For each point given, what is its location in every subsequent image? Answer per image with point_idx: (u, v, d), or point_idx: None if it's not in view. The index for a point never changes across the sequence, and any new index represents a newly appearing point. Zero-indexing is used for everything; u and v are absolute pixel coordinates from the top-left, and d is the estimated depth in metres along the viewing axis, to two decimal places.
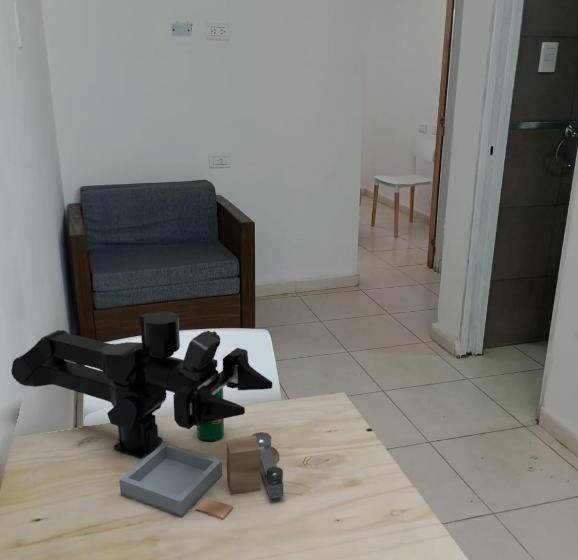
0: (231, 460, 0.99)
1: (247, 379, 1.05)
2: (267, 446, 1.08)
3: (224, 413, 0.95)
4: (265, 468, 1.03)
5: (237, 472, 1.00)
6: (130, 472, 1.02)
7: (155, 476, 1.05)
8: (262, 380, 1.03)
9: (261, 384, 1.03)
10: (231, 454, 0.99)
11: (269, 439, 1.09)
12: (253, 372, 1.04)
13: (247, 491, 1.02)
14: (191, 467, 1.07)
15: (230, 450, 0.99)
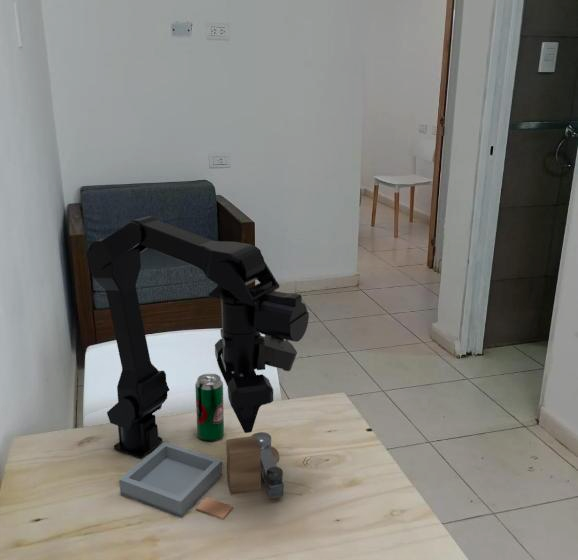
0: (231, 460, 0.99)
1: (235, 376, 1.02)
2: (267, 446, 1.08)
3: (244, 419, 0.93)
4: (265, 468, 1.03)
5: (237, 472, 1.00)
6: (130, 472, 1.02)
7: (155, 476, 1.05)
8: None
9: None
10: (231, 454, 0.99)
11: (269, 439, 1.09)
12: None
13: (247, 491, 1.02)
14: (191, 467, 1.07)
15: (230, 450, 0.99)
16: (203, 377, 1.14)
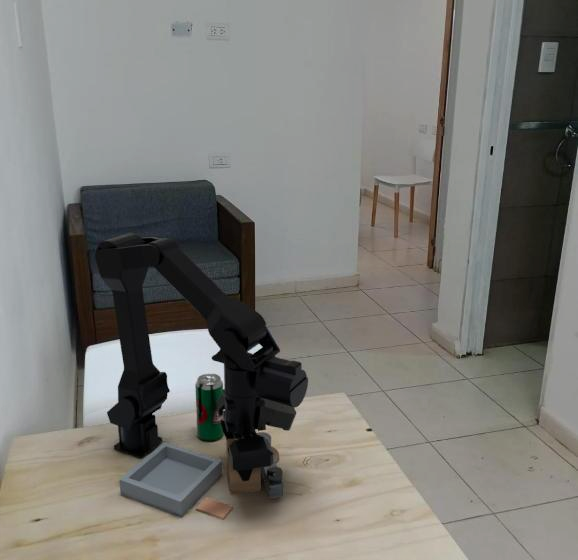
0: None
1: None
2: None
3: (242, 469, 0.99)
4: (265, 468, 1.03)
5: (237, 472, 1.00)
6: (130, 472, 1.02)
7: (155, 476, 1.05)
8: None
9: None
10: None
11: (269, 439, 1.09)
12: None
13: (247, 491, 1.02)
14: (191, 467, 1.07)
15: None
16: (203, 377, 1.14)
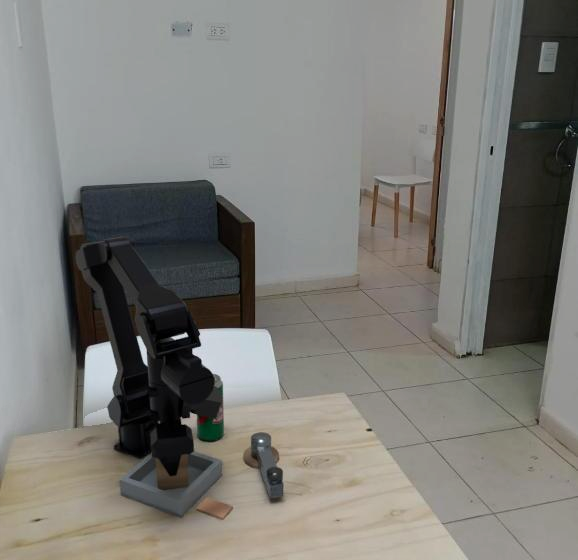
0: None
1: (167, 422, 1.04)
2: (267, 446, 1.08)
3: (168, 464, 0.96)
4: (265, 468, 1.03)
5: (164, 468, 1.00)
6: (130, 472, 1.02)
7: (155, 476, 1.05)
8: None
9: None
10: None
11: (269, 439, 1.09)
12: None
13: (175, 487, 1.02)
14: (191, 467, 1.07)
15: None
16: None
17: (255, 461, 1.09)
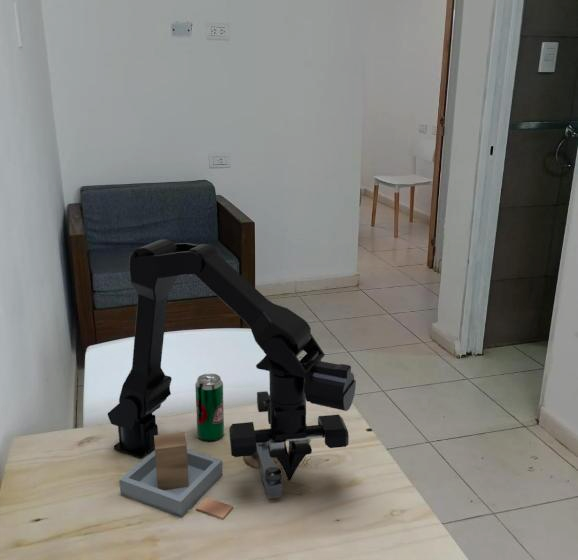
0: (157, 456, 0.99)
1: None
2: (267, 446, 1.08)
3: None
4: (264, 468, 1.03)
5: (164, 468, 1.00)
6: (130, 472, 1.02)
7: (155, 476, 1.05)
8: None
9: None
10: (156, 450, 0.98)
11: None
12: None
13: (175, 487, 1.02)
14: (191, 467, 1.07)
15: (156, 446, 0.99)
16: (203, 377, 1.14)
17: (255, 461, 1.09)
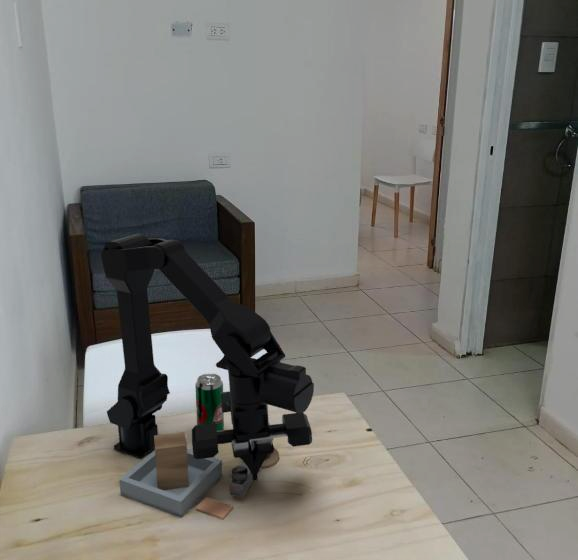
0: (157, 456, 0.99)
1: (253, 454, 1.00)
2: None
3: None
4: (241, 466, 1.03)
5: (164, 468, 1.00)
6: (130, 472, 1.02)
7: (155, 476, 1.05)
8: None
9: None
10: (156, 450, 0.98)
11: None
12: None
13: (175, 487, 1.02)
14: (191, 467, 1.07)
15: (156, 446, 0.99)
16: (203, 377, 1.14)
17: None
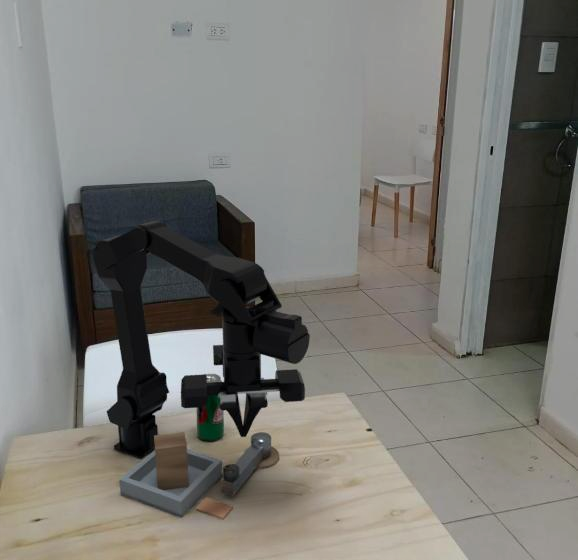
0: (157, 456, 0.99)
1: None
2: (260, 447, 1.08)
3: None
4: (235, 464, 1.03)
5: (164, 468, 1.00)
6: (130, 472, 1.02)
7: (155, 476, 1.05)
8: (242, 424, 0.98)
9: (242, 426, 0.97)
10: (156, 450, 0.98)
11: (265, 442, 1.09)
12: None
13: (175, 487, 1.02)
14: (191, 467, 1.07)
15: (156, 446, 0.99)
16: None
17: None
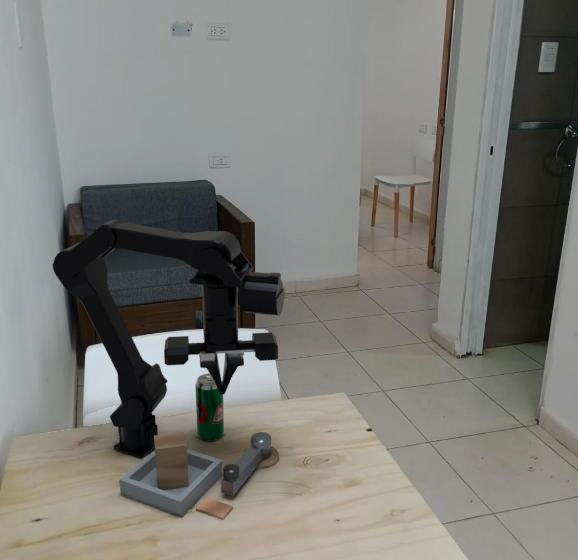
0: (157, 456, 0.99)
1: None
2: (260, 447, 1.08)
3: None
4: (235, 464, 1.03)
5: (164, 468, 1.00)
6: (130, 472, 1.02)
7: (155, 476, 1.05)
8: (221, 382, 1.07)
9: (221, 384, 1.06)
10: (156, 450, 0.98)
11: (265, 442, 1.09)
12: None
13: (175, 487, 1.02)
14: (191, 467, 1.07)
15: (156, 446, 0.99)
16: (203, 377, 1.14)
17: None
